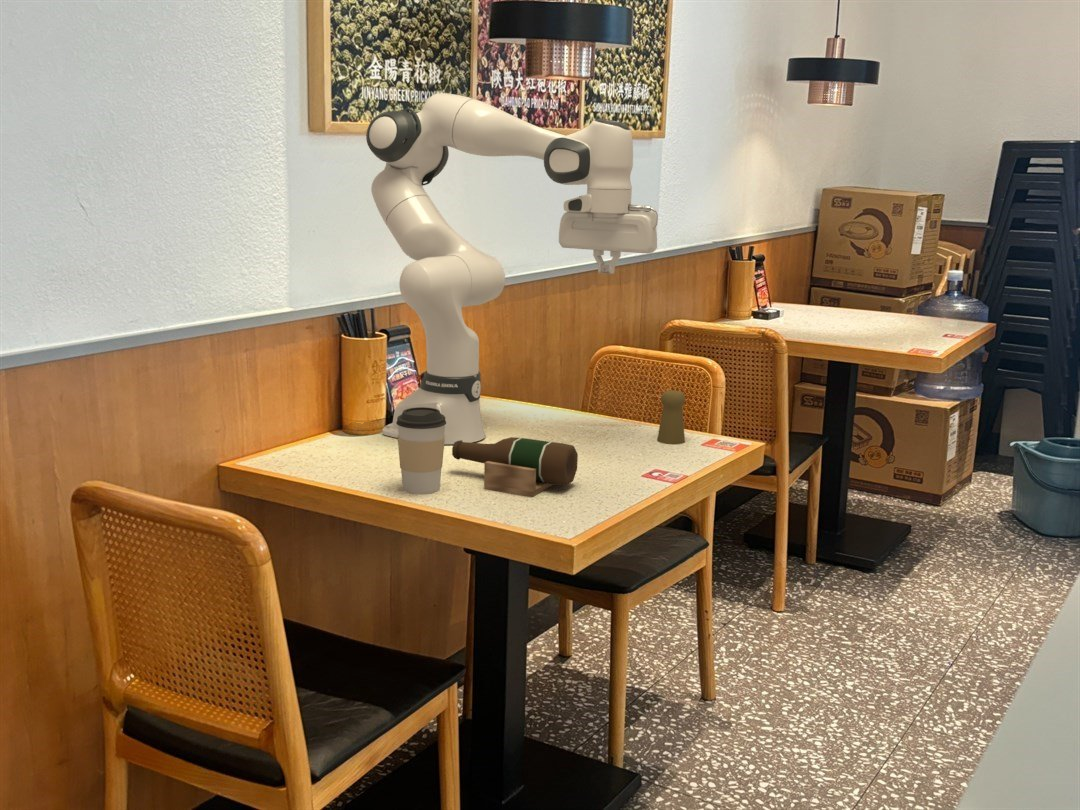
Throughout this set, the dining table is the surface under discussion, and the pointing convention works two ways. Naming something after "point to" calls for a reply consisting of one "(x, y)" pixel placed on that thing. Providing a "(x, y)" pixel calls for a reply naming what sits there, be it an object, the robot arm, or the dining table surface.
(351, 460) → the dining table surface
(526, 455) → the beer bottle
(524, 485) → the walnut rest
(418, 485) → the coffee cup
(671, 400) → the cork
